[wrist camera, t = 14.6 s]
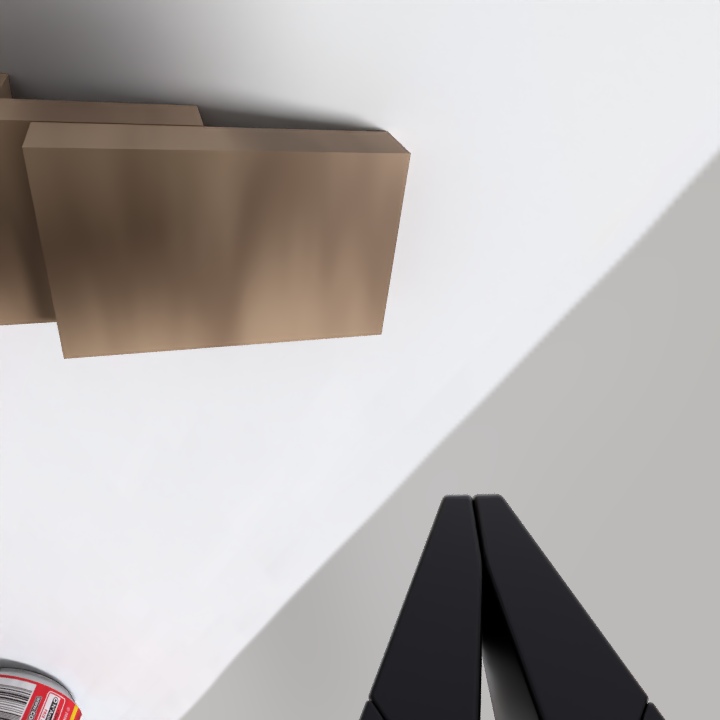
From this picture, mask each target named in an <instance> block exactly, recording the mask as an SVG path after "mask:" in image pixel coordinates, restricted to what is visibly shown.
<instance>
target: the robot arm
mask: <svg viewBox="0 0 720 720" xmlns="http://www.w3.org/2000/svg"><path fill="white" fill-rule="evenodd" d="M482 657H483V663H484V667H485V672H486V678H487V682H488V687H489V692H490V697H491V702H492V706H493V711H494V716H495V720H665V719H664V718H663V716H662V715H661V713H660V712H659V711H658V709H657V708H656V706H655V705H654V704H653V703H651V702H650V703H648V696H647V694H646V693H645V692H644V690H643V689H642V688H641V686H640V685H639V684H638V682H637V681H636V679H635V678H634V677H633V675H632V674H631V672H630V671H629V670H628V668H627V667H626V666H625V664H624V663H623V662H622V660H621V659H620V657H619V656H618V655H617V653H616V652H615V650H614V649H613V648H612V646H611V645H610V644H609V642H608V641H607V640H606V638H605V637H604V635H603V634H602V633H601V631H600V630H599V628H598V627H597V626H596V624H595V623H594V621H593V620H592V619H591V617H590V616H589V615H588V613H587V612H586V610H585V609H584V608H583V607H582V605H581V604H580V602H579V601H578V600H577V598H576V597H575V595H574V594H573V593H572V591H571V590H570V588H569V587H568V586H567V584H566V583H565V582H564V580H563V579H562V578H561V576H560V575H559V573H558V572H557V571H556V569H555V568H554V566H553V565H552V564H551V562H550V561H549V560H548V558H547V557H546V556H545V554H544V553H543V551H542V550H541V549H540V547H539V546H538V544H537V543H536V542H535V540H534V539H533V538H532V536H531V535H530V534H529V532H528V531H527V529H526V528H525V527H524V525H523V524H522V523H521V521H520V520H519V518H518V517H517V516H516V514H515V513H514V511H513V510H512V509H511V507H510V506H509V505H508V503H507V502H506V501H505V499H504V498H503V497H502V496H501V495H499V494H477V495H475V496H473V498H471V496H469V495H446V496H444V498H443V499H442V501H441V504H440V506H439V509H438V512H437V514H436V517H435V520H434V522H433V525H432V528H431V530H430V533H429V536H428V538H427V541H426V544H425V546H424V549H423V552H422V554H421V557H420V560H419V562H418V565H417V568H416V571H415V573H414V576H413V578H412V581H411V584H410V587H409V589H408V592H407V595H406V597H405V600H404V603H403V605H402V608H401V610H400V613H399V616H398V618H397V621H396V624H395V626H394V629H393V632H392V635H391V637H390V640H389V643H388V646H387V648H386V651H385V653H384V656H383V659H382V662H381V664H380V667H379V669H378V672H377V675H376V677H375V680H374V683H373V686H372V688H371V691H370V693H369V701H367V702H366V703H365V706H364V708H363V711H362V714H361V716H360V719H359V720H480V712H481V711H480V710H481V668H482ZM647 703H648V704H647Z"/></svg>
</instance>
